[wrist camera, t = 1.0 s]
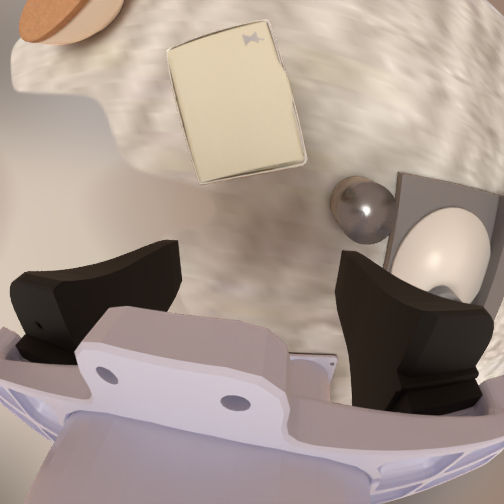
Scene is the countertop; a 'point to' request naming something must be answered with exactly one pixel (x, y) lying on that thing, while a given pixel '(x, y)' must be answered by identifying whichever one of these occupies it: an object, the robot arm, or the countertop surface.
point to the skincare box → (236, 103)
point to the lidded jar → (66, 19)
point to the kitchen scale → (449, 240)
